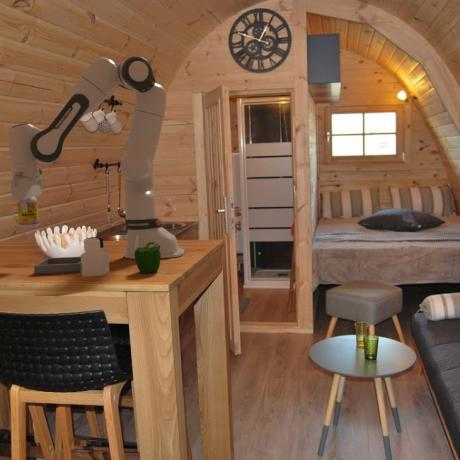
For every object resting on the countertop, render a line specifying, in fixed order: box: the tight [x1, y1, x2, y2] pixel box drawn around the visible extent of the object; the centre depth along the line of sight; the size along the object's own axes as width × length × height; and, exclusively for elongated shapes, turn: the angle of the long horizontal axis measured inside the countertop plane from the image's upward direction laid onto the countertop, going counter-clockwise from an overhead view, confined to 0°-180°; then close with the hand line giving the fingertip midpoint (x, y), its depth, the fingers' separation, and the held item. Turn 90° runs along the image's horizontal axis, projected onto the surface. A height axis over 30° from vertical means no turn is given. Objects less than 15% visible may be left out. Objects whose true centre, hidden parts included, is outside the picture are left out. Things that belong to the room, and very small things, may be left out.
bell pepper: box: [134, 241, 162, 274], centre depth 178 cm, size 8×8×10 cm
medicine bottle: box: [80, 236, 110, 278], centre depth 178 cm, size 7×7×12 cm
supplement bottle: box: [16, 190, 40, 229], centre depth 193 cm, size 7×7×13 cm
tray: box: [33, 256, 82, 276], centre depth 188 cm, size 15×13×3 cm
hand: (29, 211), depth 193 cm, fingers closed on supplement bottle, 7 cm apart
